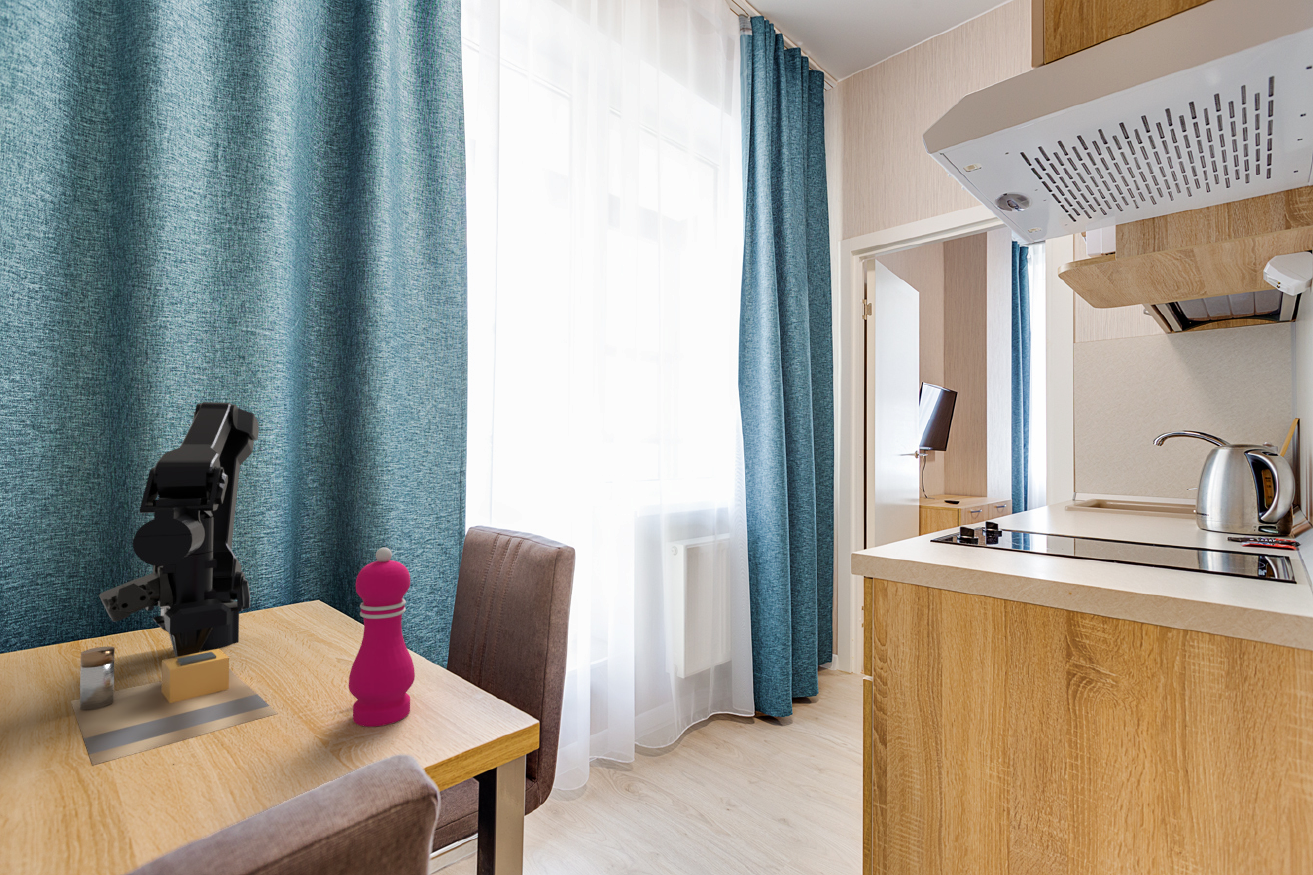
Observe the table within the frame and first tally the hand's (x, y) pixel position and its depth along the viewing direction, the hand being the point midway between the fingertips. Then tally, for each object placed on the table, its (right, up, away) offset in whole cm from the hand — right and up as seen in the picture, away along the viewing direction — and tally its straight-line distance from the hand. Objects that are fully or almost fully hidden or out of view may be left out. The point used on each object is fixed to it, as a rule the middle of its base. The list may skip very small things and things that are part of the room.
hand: (184, 670), depth 82 cm
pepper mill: (+30, -2, -8) cm, 31 cm away
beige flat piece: (+5, -2, -9) cm, 11 cm away
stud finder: (+4, -1, -4) cm, 6 cm away
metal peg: (-4, -1, -9) cm, 9 cm away
